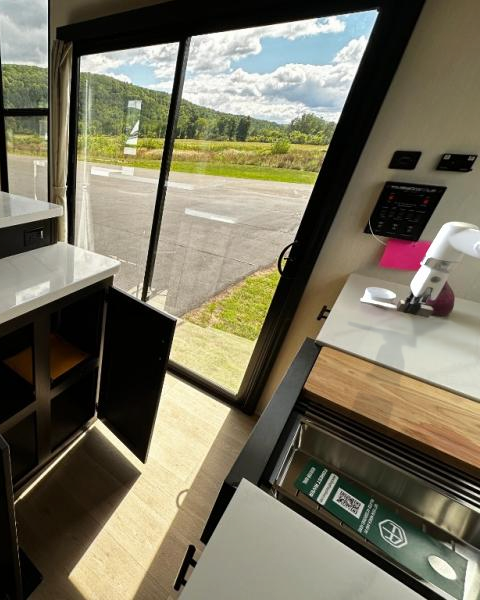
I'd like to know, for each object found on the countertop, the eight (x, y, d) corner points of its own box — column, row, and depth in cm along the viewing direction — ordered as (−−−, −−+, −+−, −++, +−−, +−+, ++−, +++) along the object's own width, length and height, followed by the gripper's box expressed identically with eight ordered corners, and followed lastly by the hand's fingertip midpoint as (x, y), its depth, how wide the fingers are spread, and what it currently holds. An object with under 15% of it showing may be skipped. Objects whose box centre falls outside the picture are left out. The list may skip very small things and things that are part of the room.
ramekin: (368, 307, 120) (373, 297, 118) (356, 295, 127) (361, 285, 125) (396, 309, 118) (401, 299, 116) (382, 297, 126) (387, 287, 123)
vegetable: (418, 321, 117) (431, 289, 108) (403, 303, 124) (414, 272, 116) (457, 319, 113) (474, 285, 104) (439, 301, 121) (453, 268, 112)
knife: (426, 313, 107) (431, 306, 105) (428, 317, 105) (433, 310, 103) (359, 299, 116) (363, 292, 114) (360, 302, 114) (364, 295, 112)
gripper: (463, 275, 91) (428, 326, 101) (449, 255, 102) (418, 303, 112) (428, 269, 95) (397, 319, 105) (418, 251, 106) (390, 297, 116)
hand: (408, 310), depth 108 cm, fingers closed on knife, 2 cm apart
